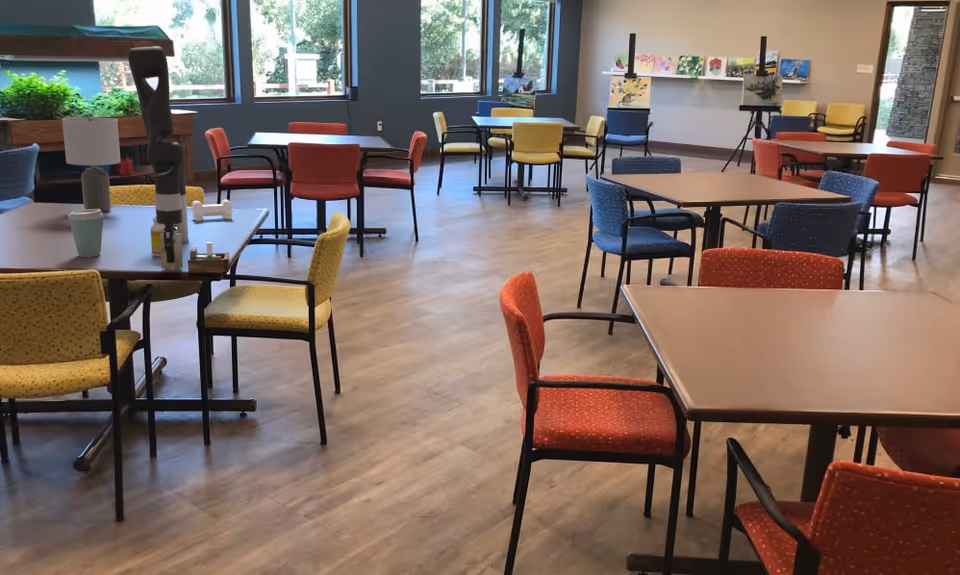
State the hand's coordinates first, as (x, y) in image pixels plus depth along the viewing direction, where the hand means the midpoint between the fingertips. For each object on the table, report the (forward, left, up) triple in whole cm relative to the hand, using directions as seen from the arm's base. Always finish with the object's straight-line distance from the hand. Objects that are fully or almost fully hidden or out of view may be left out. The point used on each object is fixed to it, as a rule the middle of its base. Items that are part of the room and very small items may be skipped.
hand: (171, 259), depth 251 cm
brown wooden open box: (0, +11, -3) cm, 12 cm away
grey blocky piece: (0, +9, -3) cm, 10 cm away
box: (0, 0, -3) cm, 3 cm away
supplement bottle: (-20, -5, -3) cm, 21 cm away
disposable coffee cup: (-22, -28, -3) cm, 36 cm away
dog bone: (-83, +8, -3) cm, 83 cm away
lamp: (-102, -39, -3) cm, 109 cm away
